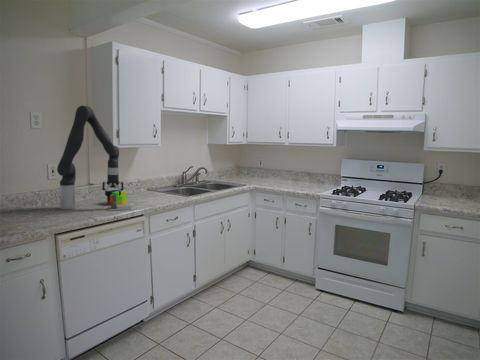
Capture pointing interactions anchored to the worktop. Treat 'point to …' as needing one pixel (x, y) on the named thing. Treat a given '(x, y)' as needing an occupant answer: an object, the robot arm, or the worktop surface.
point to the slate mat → (120, 208)
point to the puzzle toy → (120, 199)
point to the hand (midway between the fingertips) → (113, 195)
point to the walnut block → (113, 201)
